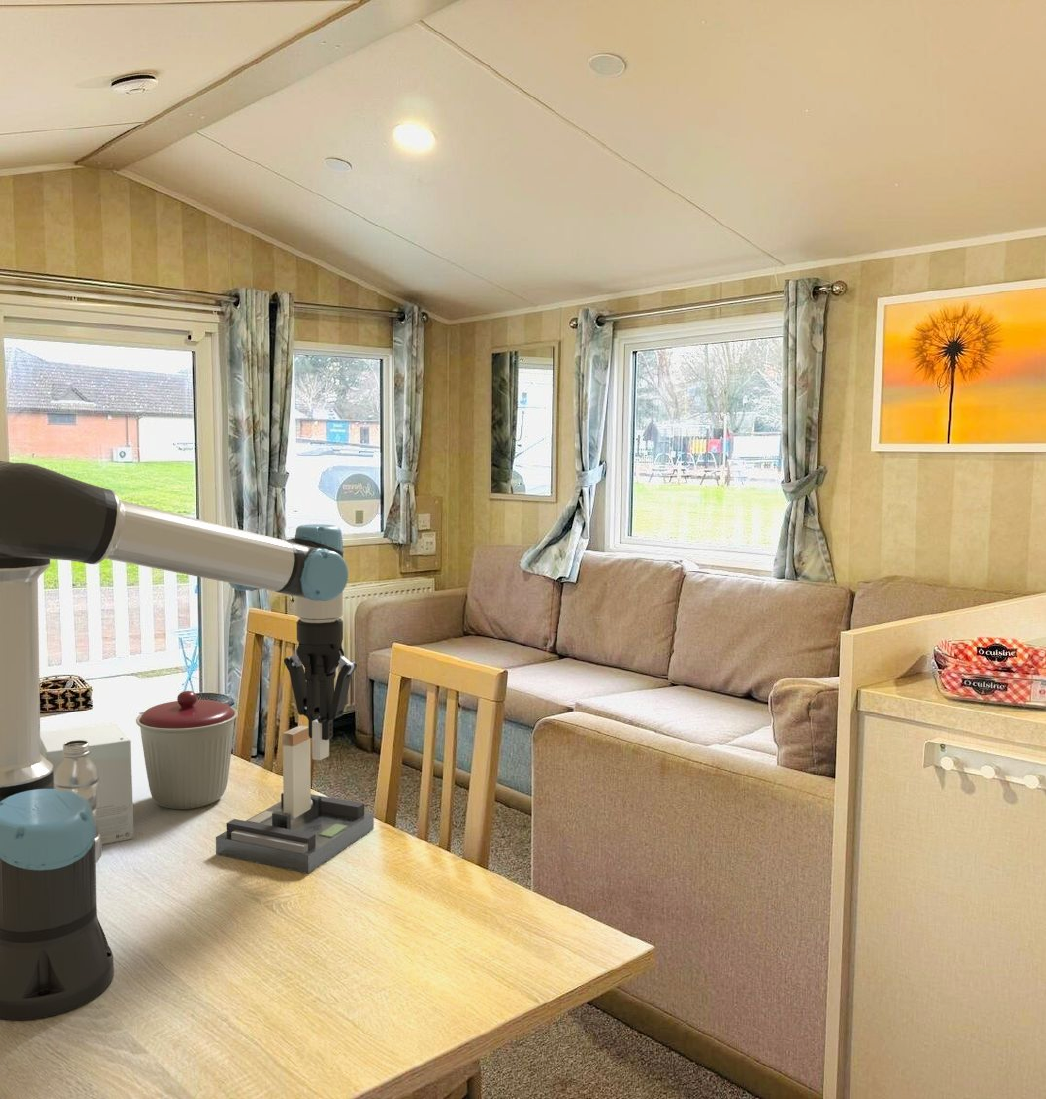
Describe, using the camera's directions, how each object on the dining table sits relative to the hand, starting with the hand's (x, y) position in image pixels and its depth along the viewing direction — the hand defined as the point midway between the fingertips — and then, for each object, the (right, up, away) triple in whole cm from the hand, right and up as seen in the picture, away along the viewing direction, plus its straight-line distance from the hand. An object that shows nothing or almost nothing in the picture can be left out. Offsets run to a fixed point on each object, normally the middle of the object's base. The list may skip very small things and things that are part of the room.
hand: (320, 757), depth 164 cm
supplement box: (-42, -15, +5) cm, 44 cm away
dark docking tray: (-5, -12, +3) cm, 13 cm away
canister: (-30, -13, +22) cm, 39 cm away
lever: (-5, -10, +3) cm, 11 cm away
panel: (-5, -15, +3) cm, 16 cm away
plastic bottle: (-37, -16, -7) cm, 41 cm away
